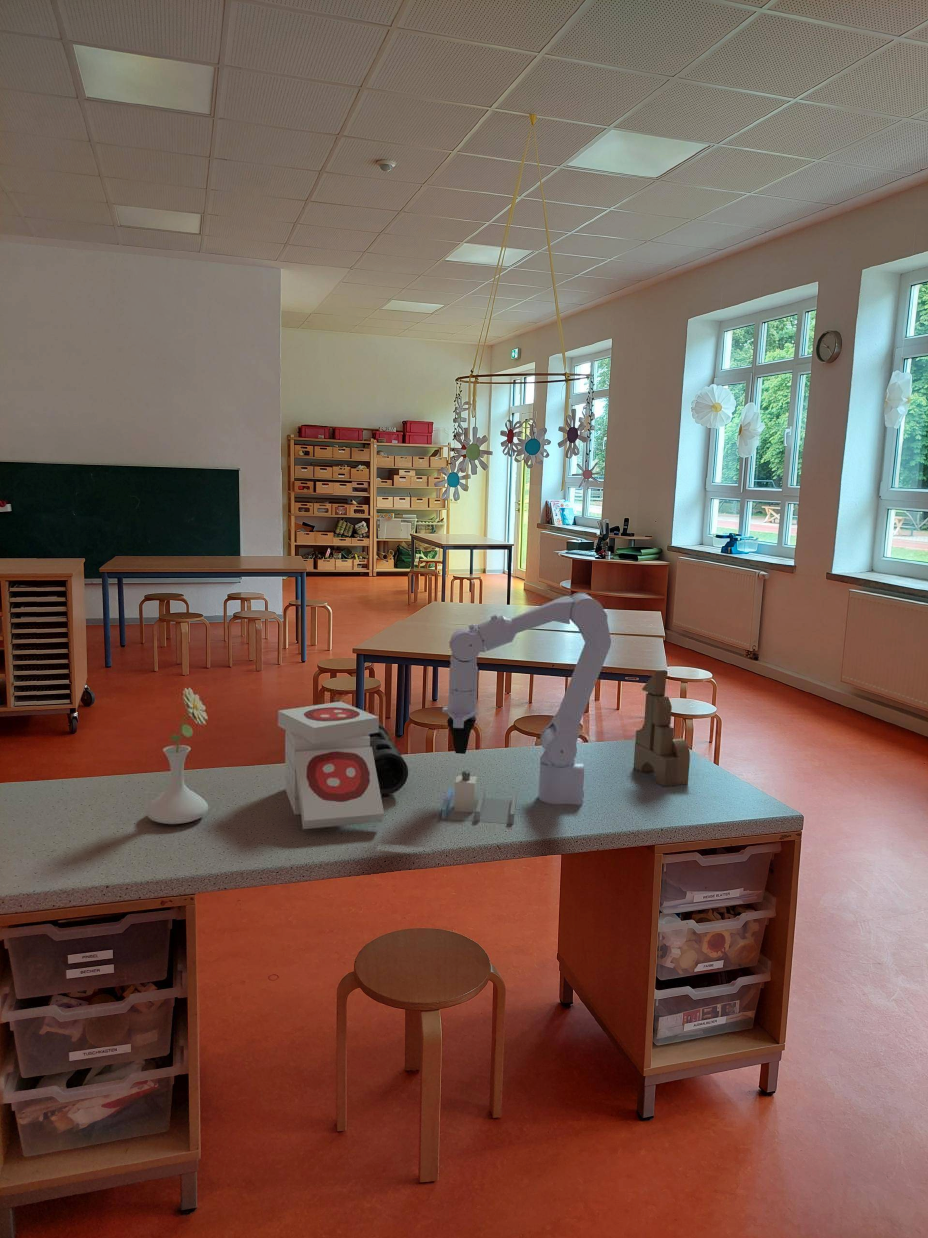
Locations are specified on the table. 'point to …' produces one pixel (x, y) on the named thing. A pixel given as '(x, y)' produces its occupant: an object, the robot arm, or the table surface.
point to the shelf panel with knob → (482, 809)
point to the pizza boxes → (331, 765)
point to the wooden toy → (660, 738)
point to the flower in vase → (180, 775)
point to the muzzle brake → (387, 763)
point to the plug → (465, 792)
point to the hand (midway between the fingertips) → (460, 752)
